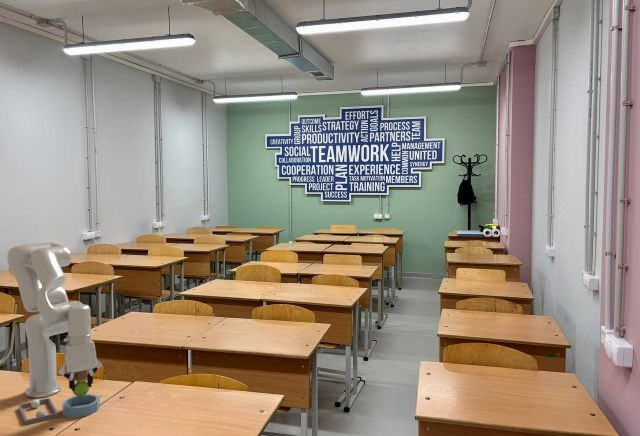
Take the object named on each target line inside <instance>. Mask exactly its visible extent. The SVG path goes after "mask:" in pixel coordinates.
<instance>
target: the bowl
mask: <svg viewBox="0 0 640 436" xmlns="http://www.w3.org/2000/svg"><path fill="white" fill-rule="evenodd" d="M100 401H101V400H100V396H99V395H97V394H93V393H87V394H86V395H84V396H81V397H78V396H76V395H73V396H71V397H69V398H66V399H65V400H64V401H63V402H62V403H61V406H62V407H61V409H62V411H61V412H62V415H63V416H64V417H67V418H70V419H71V418H72V419H73V418H74V419H75V418H82V417H87V416H90V415H93V414H95V413H96V412H98V410H99V409H100V408H101V405H100V404H101V402H100Z"/></svg>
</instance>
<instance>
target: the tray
mask: <svg viewBox="0 0 640 436" xmlns="http://www.w3.org/2000/svg"><path fill="white" fill-rule="evenodd" d="M38 400H39V401H40V405H44V404H48V405H49V407H50V409H51V411H52V412H53V413H49V414H45V416H41V417H36V416H35V417H34V418H28V419H27V417H26V414H25V412H24V410H23V409H26V408H30V407H31V402H32V401H30V402H24V403H19V404H18V411H19V413H20V416H21V418H22V421H23V423H24V425H25V426H27V425H30V424H32V425H33V424H37V423H41V422H44V421H47V420H51V419H52V420H53V419H55V418H56V419H57V418H59V412H58V410H57V408H56V407H55V405H54V403H53V402H52V400H51V398H50V397H48V398H44V399H38ZM31 408H32V407H31Z"/></svg>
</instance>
